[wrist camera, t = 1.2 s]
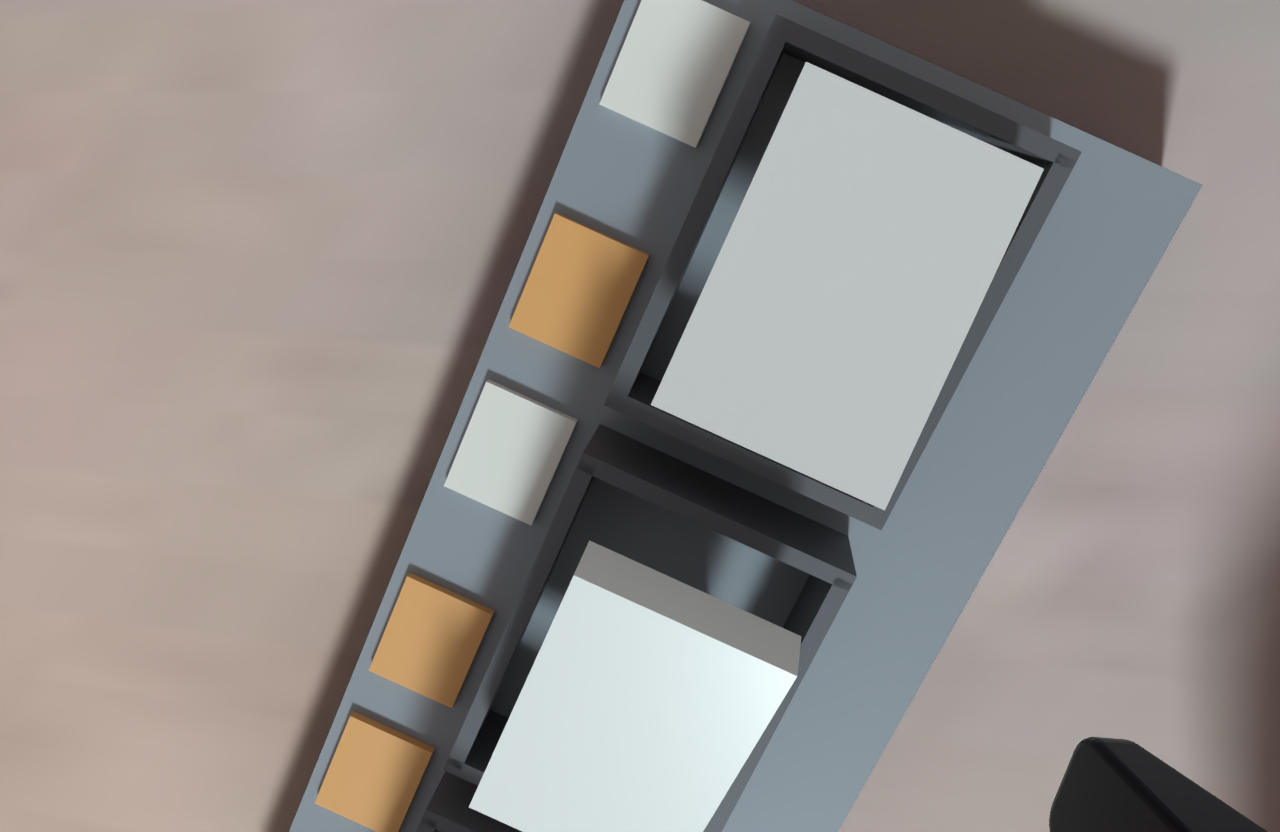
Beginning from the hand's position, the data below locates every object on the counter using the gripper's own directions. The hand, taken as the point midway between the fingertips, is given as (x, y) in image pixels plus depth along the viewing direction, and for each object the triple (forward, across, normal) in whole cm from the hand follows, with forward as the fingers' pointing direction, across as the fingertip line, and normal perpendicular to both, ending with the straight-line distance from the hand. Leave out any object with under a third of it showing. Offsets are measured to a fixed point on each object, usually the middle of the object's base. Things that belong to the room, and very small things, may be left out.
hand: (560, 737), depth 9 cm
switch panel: (+12, -3, +6) cm, 14 cm away
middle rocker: (+8, -2, +6) cm, 10 cm away
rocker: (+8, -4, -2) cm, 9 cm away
